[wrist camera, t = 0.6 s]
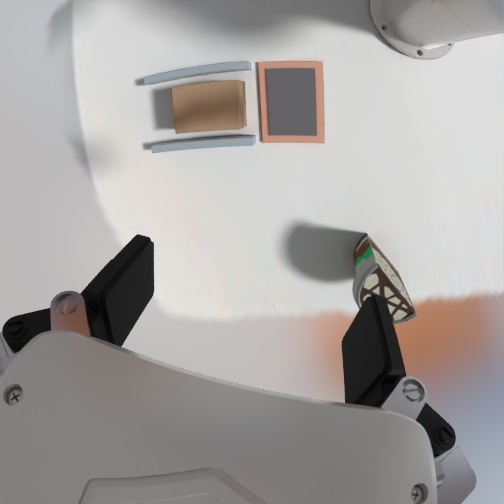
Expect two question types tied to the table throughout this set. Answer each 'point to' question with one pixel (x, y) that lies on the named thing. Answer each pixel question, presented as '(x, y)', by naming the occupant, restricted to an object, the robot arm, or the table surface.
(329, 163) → the table surface
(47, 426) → the robot arm
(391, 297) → the food container
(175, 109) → the walnut block
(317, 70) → the pad
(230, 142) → the channel
